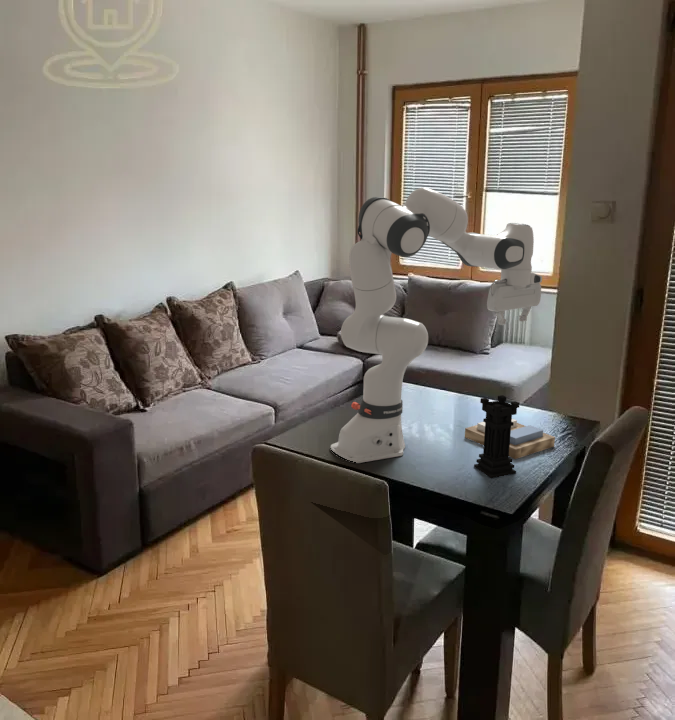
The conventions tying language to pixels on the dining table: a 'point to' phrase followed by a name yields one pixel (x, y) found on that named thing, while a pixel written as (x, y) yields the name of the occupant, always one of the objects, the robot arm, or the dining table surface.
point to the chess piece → (497, 438)
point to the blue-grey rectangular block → (525, 434)
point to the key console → (515, 450)
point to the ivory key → (482, 425)
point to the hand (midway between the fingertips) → (512, 322)
